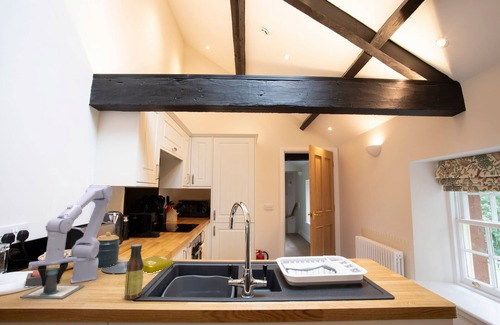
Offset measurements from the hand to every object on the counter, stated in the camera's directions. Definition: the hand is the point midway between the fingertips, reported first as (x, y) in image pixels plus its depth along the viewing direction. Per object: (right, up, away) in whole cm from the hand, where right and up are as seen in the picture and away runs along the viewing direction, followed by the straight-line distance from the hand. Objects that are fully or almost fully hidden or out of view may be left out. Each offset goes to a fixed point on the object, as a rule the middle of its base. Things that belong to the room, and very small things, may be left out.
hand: (50, 284), depth 90 cm
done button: (-14, -3, +10) cm, 18 cm away
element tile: (+26, -10, +34) cm, 45 cm away
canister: (-2, -9, +37) cm, 39 cm away
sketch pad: (0, -4, +2) cm, 5 cm away
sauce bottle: (+32, -5, 0) cm, 33 cm away
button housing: (-14, -5, +10) cm, 18 cm away
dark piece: (0, -2, 0) cm, 2 cm away
